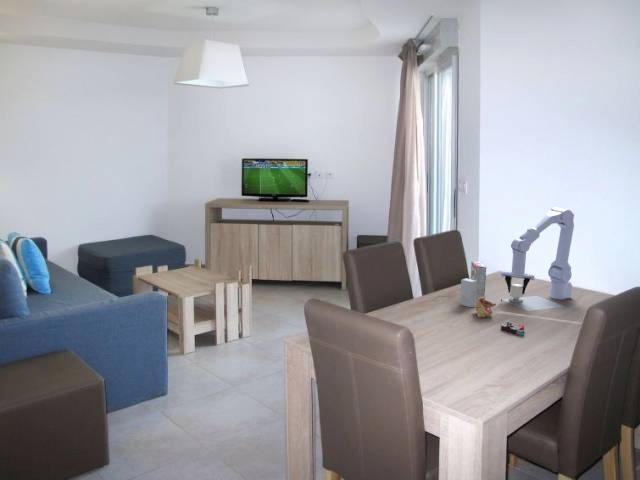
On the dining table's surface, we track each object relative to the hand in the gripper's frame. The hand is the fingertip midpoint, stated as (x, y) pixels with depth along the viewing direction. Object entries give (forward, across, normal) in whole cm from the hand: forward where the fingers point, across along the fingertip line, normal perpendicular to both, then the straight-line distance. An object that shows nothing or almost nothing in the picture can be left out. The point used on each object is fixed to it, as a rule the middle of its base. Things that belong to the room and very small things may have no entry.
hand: (516, 292), depth 287 cm
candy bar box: (+5, -18, +1) cm, 19 cm away
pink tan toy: (+5, -10, -27) cm, 29 cm away
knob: (+1, 0, 0) cm, 1 cm away
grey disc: (+5, 0, 0) cm, 5 cm away
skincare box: (+5, -19, -15) cm, 25 cm away
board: (+5, +7, 0) cm, 9 cm away
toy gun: (+6, +6, -41) cm, 42 cm away
